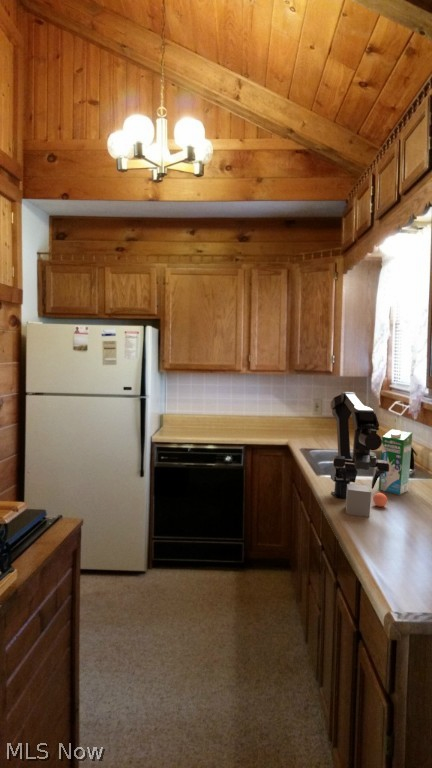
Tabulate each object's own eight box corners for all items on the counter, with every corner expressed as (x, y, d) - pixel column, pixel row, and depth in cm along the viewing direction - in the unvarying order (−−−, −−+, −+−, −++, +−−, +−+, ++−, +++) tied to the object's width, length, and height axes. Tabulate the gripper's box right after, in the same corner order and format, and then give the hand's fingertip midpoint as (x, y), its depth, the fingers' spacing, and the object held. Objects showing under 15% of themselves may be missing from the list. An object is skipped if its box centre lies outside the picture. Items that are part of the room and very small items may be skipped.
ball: (370, 503, 174) (371, 491, 174) (382, 504, 175) (383, 491, 174) (376, 508, 169) (377, 495, 169) (389, 508, 170) (390, 495, 169)
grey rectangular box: (345, 507, 169) (347, 483, 168) (367, 509, 167) (369, 486, 167) (346, 514, 162) (348, 489, 161) (369, 516, 160) (371, 492, 159)
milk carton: (378, 489, 193) (382, 431, 191) (386, 485, 200) (391, 429, 198) (399, 495, 187) (404, 434, 185) (408, 490, 194) (412, 432, 192)
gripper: (335, 446, 157) (332, 490, 158) (393, 451, 153) (389, 497, 154) (334, 440, 168) (331, 481, 169) (388, 444, 164) (385, 487, 165)
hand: (358, 487), depth 164 cm, fingers open, 9 cm apart
